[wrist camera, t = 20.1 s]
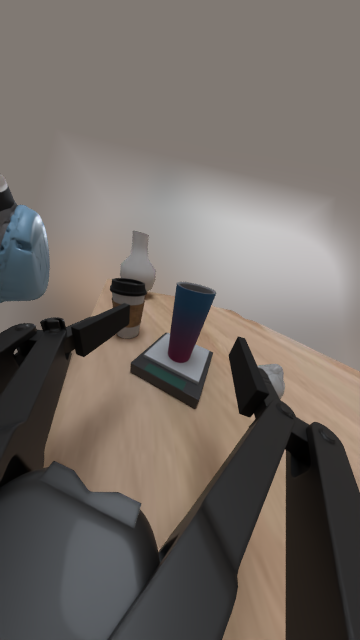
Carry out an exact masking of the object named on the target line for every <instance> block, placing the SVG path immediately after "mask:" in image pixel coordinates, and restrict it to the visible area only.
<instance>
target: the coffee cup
mask: <svg viewBox="0 0 360 640" xmlns="http://www.w3.org/2000/svg"><path fill="white" fill-rule="evenodd" d="M110 291H111V292H112V296H113V297H112V303H113V308H114V307H117V306H119V305H121V304H123V303H126V304H129V305H130V321H129V325H127V326H126V327H125V328H123V329H122V330H121V331H119V332H118V333H117V335H118V336H119V337H121V338H133V337H136V336H137V335H138V333H139V328H140V323H141V317H142V312H143V307H144V302H145V301H144V297H145V295H146V294H147V292H146V289H145V283H143V282H141V281H138V280H134V279H128V278H115V279H112V285H111V286H110Z"/></svg>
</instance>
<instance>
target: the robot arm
mask: <svg viewBox="0 0 360 640" xmlns="http://www.w3.org/2000/svg"><path fill="white" fill-rule="evenodd" d="M49 268H50V265H49V248H48V240H47V235H46V230H45V226H44V224H43V222H42V220H41V217H40V216H39V214H38V213H37V212H35V211H34V210H31V209H29V208H28V207H27V206H25V205H17V204H16V203H15V201H14V199H13V197H12V194H11V192H10V190H9V187H8V185H7V182H6V180H5V178H4V177H3V176H2V175H1V174H0V303H2V302H4V301H30V300H35V299H38V298H40V297H41V296H42V295H43V294H44V293H45V291H46V289H47V286H48V281H49ZM129 321H130V305H129V304H126V303H123V304H121V305H119V306H117V307H114V308H112V309H110V310H108V311H105V312H103V313H101V314H99V315H96V316H93V317H89V318H86V319H84V320H82V321H80V322H77V323H75V324H72V325H70V326H68V327H66V326H65V322H64V320H63V319H62V318H48V319H44V320H42V321H41V322H40V323H41V326H42V329H43V330H37V329H36V326H35V325H34V324H30V323H27V324H25V323H24V324H18V325H15V326H12V327H10V328H9V329H7V330H5V331H3V332H1V333H0V640H222V638H223V635H224V632H225V629H226V626H227V624H228V621H229V618H230V615H231V612H232V609H233V606H234V603H235V599H236V595H237V589H238V580H237V574H238V569H239V566H240V563H241V560H242V558H243V555H244V553H245V550H246V548H247V545H248V542H249V540H250V537H251V535H252V532H253V530H254V527H255V524H256V522H257V519H258V517H259V514H260V512H261V509H262V506H263V504H264V501H265V499H266V496H267V494H268V491H269V488H270V486H271V483H272V481H273V478H274V476H275V473H276V470H277V468H278V465H279V463H280V460H281V458H282V455H283V452H284V450H285V449H286V640H360V492H359V489H358V486H357V483H356V481H355V478H354V475H353V472H352V469H351V466H350V463H349V460H348V458H347V455H346V452H345V449H344V446H343V444H342V443H341V441H340V440H339V438H338V437H337V436H336V435H335V434H334V433H333V432H332V431H331V430H330V429H328V428H327V427H326V426H324V425H322V424H320V423H318V422H313V423H312V424H310V425H309V424H307V423H305V422H304V421H302V420H300V419H299V418H297V417H296V416H295V414H294V412H293V411H292V410H291V408H290V407H289V406H288V405H286V404H285V403H284V402H282V401H281V400H280V398H279V396H278V394H277V392H276V391H275V389H274V387H273V385H272V383H271V381H270V379H269V377H268V375H267V373H266V372H265V371H264V370H263V369H262V368H258V367H257V364H256V362H255V360H254V358H253V355H252V353H251V351H250V349H249V346H248V344H247V342H246V340H245V338H241V337H238V338H237V340H236V342H235V344H234V346H233V348H232V350H231V352H230V354H229V360H230V365H231V371H232V376H233V382H234V387H235V392H236V398H237V403H238V409H239V414H242V415H244V416H247V417H251V416H252V415H253V413H254V415H255V418H256V419H255V420H254V422H253V423H252V424H251V425H250V426H249V429H248V430H247V431H246V433H245V434H244V436H243V437H242V438H241V440H240V441H239V442H238V444H237V445H236V447H235V448H234V449H233V451H232V452H231V454H230V455H229V456H228V458H227V459H226V461H225V462H224V463H223V465H222V466H221V467H220V469H219V470H218V472H217V473H216V474H215V476H214V477H213V479H212V480H211V481H210V483H209V484H208V486H207V487H206V488H205V490H204V491H203V492H202V494H201V495H200V497H199V498H198V499H197V501H196V502H195V504H194V505H193V506H192V508H191V509H190V511H189V512H188V513H187V515H186V516H185V517H184V519H183V520H182V521H181V522H180V524H179V525H178V526H177V527H176V529H175V530H174V531H173V533H172V534H171V535H170V537H169V538H168V540H167V541H166V542H165V544H164V545H163V546H162V548H161V549H160V551H159V552H158V549H157V544H156V540H155V537H154V534H153V531H152V528H151V526H150V524H149V522H148V520H147V518H146V517H145V515H144V514H143V512H142V511H141V510H140V507H141V503H139V502H137V501H135V500H133V499H131V498H129V497H127V496H125V495H123V494H121V493H119V492H90V491H89V490H88V489H87V488H86V486H85V485H84V484H83V482H82V481H81V480H80V478H79V477H78V475H77V474H76V473H75V471H74V470H72V469H70V468H68V467H66V466H64V465H62V464H60V463H58V462H56V461H53V462H52V464H51V465H50V466H49V467H46V468H43V465H44V449H45V444H46V441H47V438H48V434H49V431H50V427H51V424H52V420H53V417H54V414H55V410H56V407H57V403H58V400H59V396H60V393H61V390H62V386H63V383H64V379H65V376H66V373H67V369H68V366H69V362H70V359H71V355H72V353H71V351H72V350H74V349H75V350H76V354H77V355H80V356H82V357H85V356H86V355H88V354H89V353H90V352H92V351H93V350H95V349H96V348H97V347H99V346H100V345H101V344H103V343H104V342H105V341H107V340H108V339H110V338H111V337H112V336H114V335H115V334H116V333H118V332H119V331H121V330H122V329H123V328H125V327H126V326H127V325H129ZM16 348H17V350H18V352H17V353H16V354H15V355H14V351H15V349H16ZM138 513H139V514H138ZM136 520H137V521H136Z"/></svg>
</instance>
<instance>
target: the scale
mask: <svg viewBox="0 0 360 640" xmlns="http://www.w3.org/2000/svg"><path fill="white" fill-rule="evenodd" d="M169 340H170V334H169V333H165V334H164V335H162V336H161V337H160V338H159V339H158V340H157V341H155V342H154V343H153V344H152V345H151V346H150V347H149V348H147V349H146V350H145V351H144V352H143V353H142V354H140V355H139V356H138V357H137V358H136V359H135V360H134V361H132V362H131V370H130V372H132V373H133V374H135V375H137V376H139V377H140V378H142V379H144V380H146V381H147V382H149V383H151V384H152V385H154V386H156V387H158V388H159V389H161V390H163V391H165V392H166V393H168V394H170V395H172V396H173V397H175V398H177V399H179V400H180V401H182V402H184V403H186V404H187V405H189V406H191V407H193V408H194V409H195V408H196V406H197V404H198V402H199V399H200V396H201V392H202V389H203V385H204V382H205V379H206V375H207V372H208V368H209V365H210V362H211V358H212V355H213V352H211V351H209V350H207V349H205V348H202V347H200V346H197V345H195V347H194V349H193V351H192V354H191V356H190V359H189V360H188V361H187V362H184V363H178V362H175V361H173V360H171V359H170V358H169V356H168V347H169Z"/></svg>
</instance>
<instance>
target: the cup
mask: <svg viewBox="0 0 360 640" xmlns="http://www.w3.org/2000/svg"><path fill="white" fill-rule="evenodd" d="M215 294H216V292H215V291H214V290H212V289H210V288H208V287H205V286H202V285H198V284H194V283H188V282H178V283H177V287H176V294H175V302H174V309H173V317H172V324H171V332H170V340H169V347H168V356H169V358H170V359H171V360H173V361H175V362H178V363H184V362H187V361H188V360H189V359H190V356H191V354H192V351H193V349H194V347H195V344H196V342H197V339H198V337H199V334H200V332H201V329H202V327H203V324H204V322H205V319H206V317H207V315H208V312H209V310H210V307H211V305H212V302H213V300H214V297H215Z"/></svg>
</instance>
